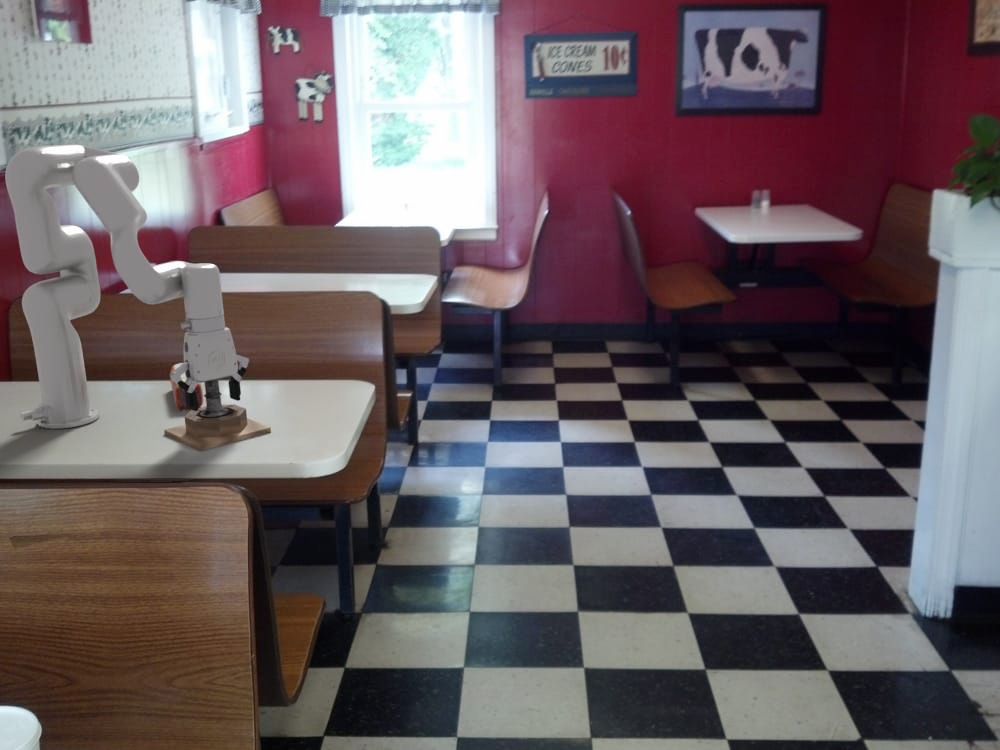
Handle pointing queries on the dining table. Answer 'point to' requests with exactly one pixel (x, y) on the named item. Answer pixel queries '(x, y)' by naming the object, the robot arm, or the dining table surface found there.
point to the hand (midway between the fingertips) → (214, 404)
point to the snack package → (180, 394)
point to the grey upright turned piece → (213, 401)
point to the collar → (216, 428)
